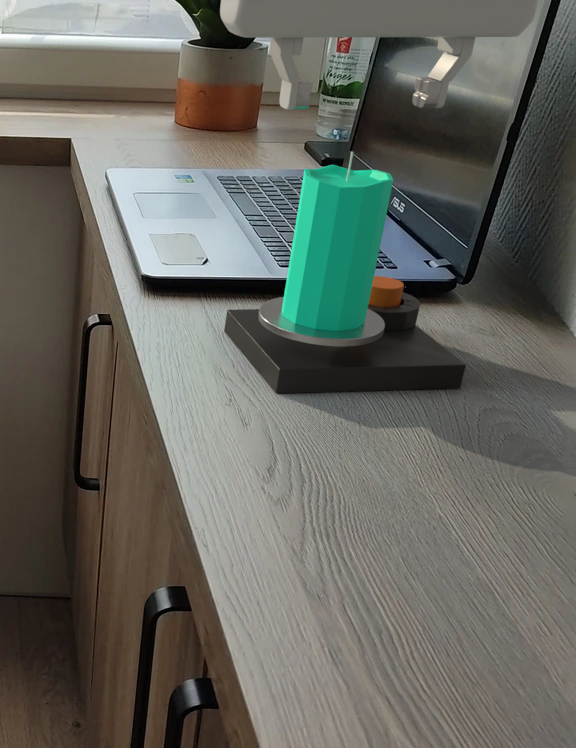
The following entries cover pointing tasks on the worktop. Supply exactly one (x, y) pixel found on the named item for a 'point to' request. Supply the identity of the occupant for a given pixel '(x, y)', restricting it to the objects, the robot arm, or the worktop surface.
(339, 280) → the candle
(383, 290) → the tare button
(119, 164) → the worktop surface
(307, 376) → the scale
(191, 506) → the worktop surface
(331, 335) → the weighing pan
